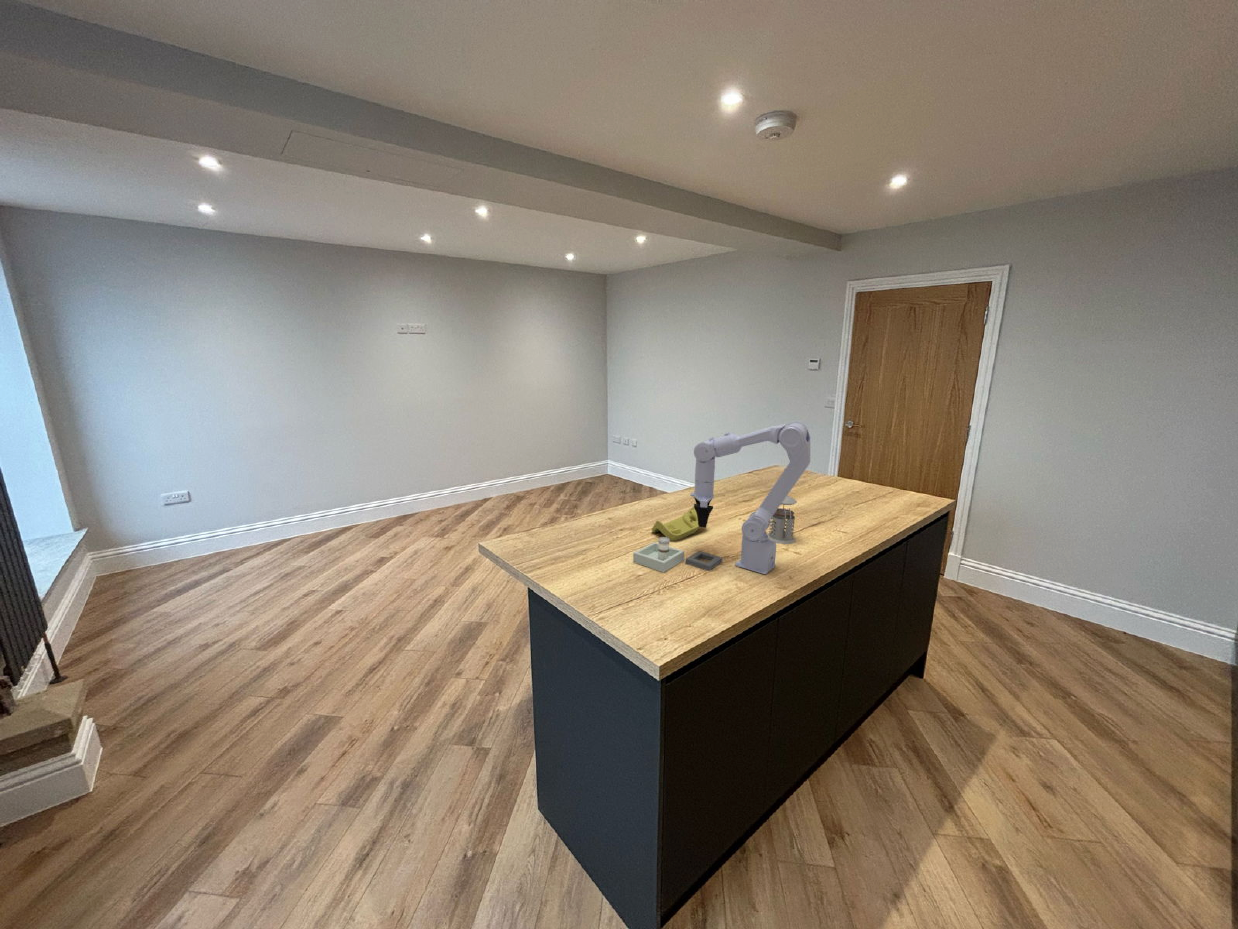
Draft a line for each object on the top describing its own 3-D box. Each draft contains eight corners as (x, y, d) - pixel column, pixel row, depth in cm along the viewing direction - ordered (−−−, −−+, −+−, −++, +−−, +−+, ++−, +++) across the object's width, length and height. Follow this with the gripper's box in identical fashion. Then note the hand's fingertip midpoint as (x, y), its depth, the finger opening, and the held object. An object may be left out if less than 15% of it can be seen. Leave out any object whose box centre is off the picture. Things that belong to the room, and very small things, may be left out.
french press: (791, 533, 163) (798, 465, 157) (800, 546, 151) (808, 473, 146) (763, 532, 163) (768, 464, 158) (770, 545, 152) (776, 472, 147)
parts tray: (683, 560, 140) (684, 551, 139) (663, 572, 132) (663, 563, 131) (654, 550, 147) (654, 541, 146) (633, 561, 138) (633, 552, 138)
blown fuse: (671, 559, 139) (671, 539, 138) (664, 562, 137) (665, 542, 135) (661, 556, 141) (662, 536, 140) (655, 559, 139) (656, 539, 137)
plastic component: (674, 537, 152) (655, 517, 158) (667, 552, 156) (649, 532, 162) (712, 520, 164) (693, 502, 170) (705, 534, 169) (687, 517, 174)
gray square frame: (722, 562, 139) (722, 557, 139) (709, 571, 133) (709, 566, 133) (698, 555, 144) (699, 550, 144) (685, 563, 138) (685, 558, 137)
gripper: (691, 473, 147) (689, 514, 150) (690, 485, 133) (688, 530, 136) (713, 475, 146) (711, 515, 149) (715, 487, 132) (713, 531, 135)
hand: (702, 522), depth 142 cm, fingers open, 7 cm apart
